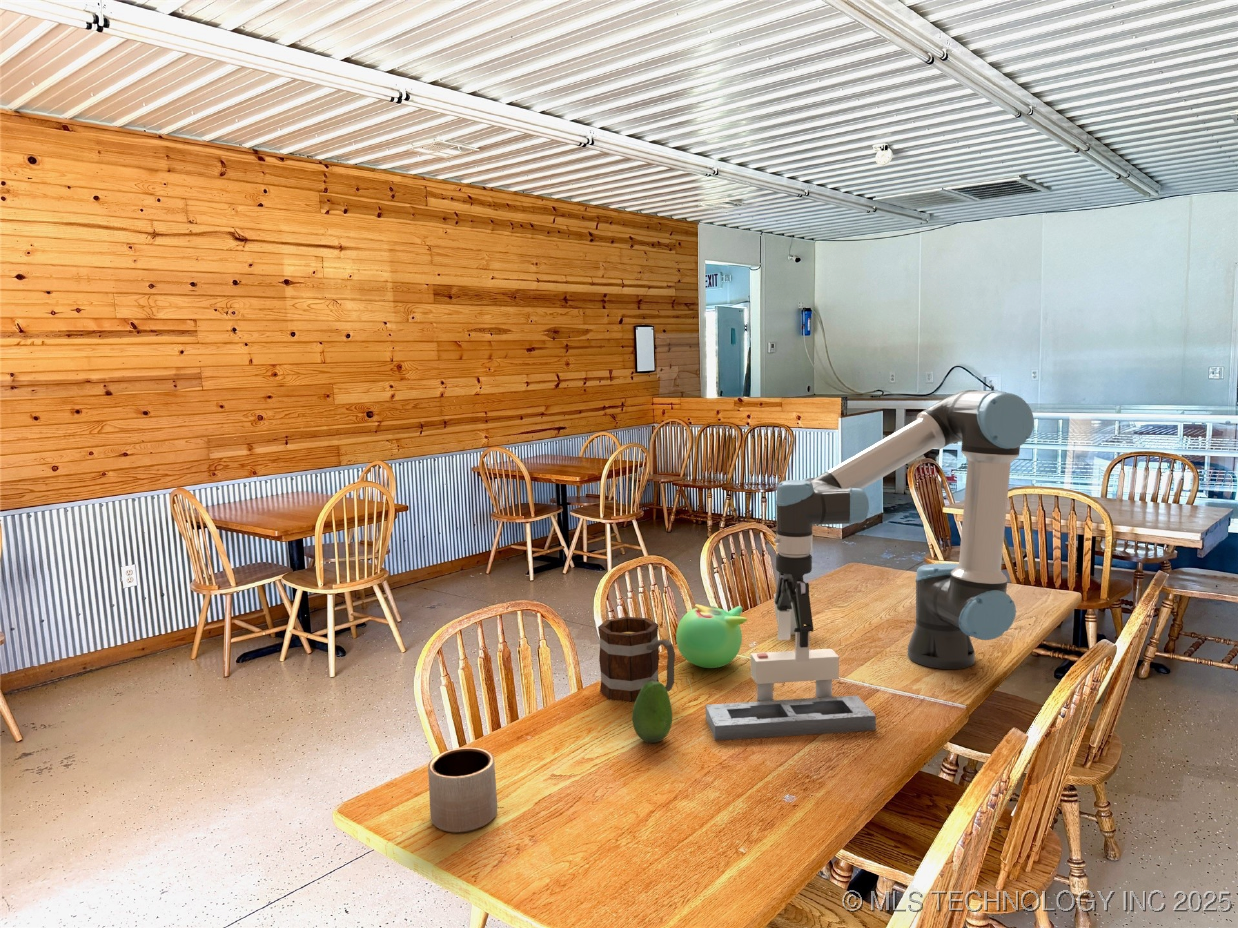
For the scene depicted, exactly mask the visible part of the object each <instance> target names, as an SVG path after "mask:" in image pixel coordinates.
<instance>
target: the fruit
mask: <svg viewBox="0 0 1238 928" xmlns="http://www.w3.org/2000/svg"><path fill="white" fill-rule="evenodd" d="M665 687H666V685H664V683H661V682H660V681H659V682H658V681H650V682H647V683H646V684H644V685H643V687H642V689H641V690H640V693H639V695H638V697H637V699H636V701H635V702H634V704H633V708H632V711H631V712H632V714H631V715H632V717H631V721H632V726H633V728H634V731H635V734H636V736H637V737H638V738H640V739H641V740H642V741H643V742H646V743H648V744H650V743H658V742H660V741H662V740H664V739H665V738H666V737H667V736H668V734H669V732H670V731H671V728H672V725H673V724H672V723H673V710H672V705H671V703H672V702H671V700H670V696H669V693H668V692H669V691H667V690H666V688H665Z"/></svg>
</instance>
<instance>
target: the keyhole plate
mask: <svg viewBox="0 0 1238 928" xmlns="http://www.w3.org/2000/svg"><path fill="white" fill-rule="evenodd" d="M876 719H877V717H876V714H875V713H874V712H873V711H872V710H871V709H870V707H868V705H867V704H866V703H865V702H864V701H863V700H862V699H861V698H860V697H859V695H858V694H857V695H841V696H832V697H823V698H819V697H810V698H794V699H779V700H778V699H777V700H772V701H759V700H758V701H747V702H746V701H745V702H729V703H728V702H727V703H714V704H713V703H712V704H705V720H706V723H707V725H708V728H709V730H710V733H711V734H712V737H713V738H714V741H716V742H717V741H718V742H719V741H730V740H731V741H732V740H745V739H746V740H747V739H759V738H774V737H775V738H776V737H791V736H793V737H794V736H808V735H810V736H811V735H822V734H823V735H824V734H835V733H836V734H837V733H839V734H840V733H853V732H854V733H855V732H867V731H868V732H869V731H876V730H877V727H876V725H877V724H876V723H877V722H876V721H877V720H876Z"/></svg>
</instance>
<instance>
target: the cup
mask: <svg viewBox="0 0 1238 928" xmlns="http://www.w3.org/2000/svg"><path fill="white" fill-rule="evenodd" d="M775 598H776V593H774V594H773V599H774V600H773V601H774V612H775V616H776V617H775V618H776V623H777V625H778V611H779V610H778V609H777V605H776V604H775ZM791 606H792V609H787V610H790V611H791V630H790V636H794V635H795V636H796V632H794V629H795V628H797V625H796V620H795V614H794V609H793V604H792V602H791Z"/></svg>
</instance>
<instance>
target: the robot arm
mask: <svg viewBox="0 0 1238 928" xmlns="http://www.w3.org/2000/svg"><path fill="white" fill-rule="evenodd" d="M915 418H916V419H915V420H914V421H912V422H910V423H909V424H907V425H905V426H903V427H902V428H900V429H898V430H896V431H895V432H893V433H892V434H889V435H887V436H886V437H885V438H882V439H881V440H879V441H877V442H875V443H874V444H872V445H871V446H868V447H867V448H866V449H864V450H862V451H860V452H859V453H856V454H855V455H853V456H852V457H850V458H847V459H846V460H844V461H843V462H841V463H839V464H838V465H836V466H835V467H833V468H830V469H829V470H827V471H825V472H824V473H822V474H820V475H818V476H816V477H815V478H814V477H807V478H806V477H805V478H803V479H802V478H801V480H800V479H798V480H797V479H787V480H782V481H781V482H779V483H778V484H777V487H776V488H777V489H776V497H775V506H776V510H775V512H776V516H775V517H776V532H775V533H776V538H774V539H773V543H775V545H776V547H775V548H776V551H777V553H776V554H775V570H776V571H777V572H778V573H779V574H778V581H777V587H776V593H775V594H776V598H775V603H774V605H775V604H776V605H777V609H778V610H779V611H778V624H777V640H778V641H788V640H791V635H790V630H791V611H790V610H787V609H792V606H791V602H792V604H793V609H794V614H795V620H796V625H797V628H795V629H794V632H796V634H795V636H794V637H795V641H794V642H795V645H794V646H795V648H794V649H795V650H794V651H795V661H796V662H803V661H809V650H810V632H813V631H814V622H813V616H812V607H811V599H810V598H811V597H810V583H809V582H805V581H804V576H805V575H808V574H810V573H811V572H812V571H813V570H812V569H813V556H812V554H811V553H812V552H813V539H814V538H813V536H814V535H813V526H823V525H826V526H827V525H853V524H860V523H862V522H864V521H866V519H867V518H868V516H869V511H870V503H869V497H868V495H867V493H866V492H865V491H864V490H863V489H865V488H867V487H868V486H870V485H872V484H874V483H876V482H877V481H879V480H881V479H882V478H884V477H886V476H888V475H890V474H891V473H892V472H894V471H896V470H898V469H900V468H901V467H903V466H905V465H907V464H909V463H910V462H912V461H913V460H916V459H917V458H920V456H922V455H924V454H926V453H927V452H929V451H931V450H933V449H938V450H941V449H943V448H945V447H946V446H949V445H951V444H955V443H958V442H961V447H960V448H961V450H960V452H961V453H962V455H964V457H965V458H966V460H967V467H966V468H967V469H966V477H965V478H966V480H965V491H964V501H963V502H964V503H963V511H962V512H963V514H962V524H961V525H962V526H961V536H960V547H959V560H958V563H929V564H923V565H921V566H919V567H918V568H917V570H916V576H915V591H916V592H915V626H914V629H913V632H912V634H911V637H910V639H909V641H908V645H907V657H908V659H909V660H910V661H911V662H914V663H915V664H918V665H920V666H924V667H927V668H934V669H941V670H961V669H966V668H969V667H971V666H973V665H975V661H976V660H975V659H976V657H975V656H976V652H975V649H974V644H973V642H972V639H971V637H972V638H975V639H977V640H981V641H991V640H995V639H998V638H999V637H1002V635H1003V634H1004V633H1005V632H1007V631H1009V629H1010V628H1011V627H1012V625H1013V624H1014V621H1015V618H1016V615H1017V608H1016V604H1015V601H1014V600H1013V599H1012V597H1011V596H1010V595H1009V594H1008V593H1007V591H1008V590H1007V588H1008V577H1007V576H1006V575H1005V574H1004V573H1003V572H1002V559H1003V550H1004V539H1005V527H1006V517H1007V506H1008V497H1009V496H1008V494H1009V486H1010V477H1011V475H1010V474H1011V463H1012V462H1013V461H1014V460H1016V459H1017V458H1018V457H1020V452H1021V451H1020V450H1021V446H1023V445H1024V444H1025V443H1027V440H1028V439H1030V437H1031V436H1032V433H1033V431H1034V423H1035V421H1034V420H1035V419H1034V414H1033V411H1032V409H1031V407H1030V405H1029V404H1028V403H1027V402H1026V400H1025V399H1024V398H1022V397H1021V396H1019V395H1017V394H1015V393H1011V392H1006V391H1001V390H995V391H994V390H993V391H992V390H974V389H973V390H972V389H968V390H963V391H958V392H956V393H954V394H951V395H949V396H948V397H945V398H943V399H942V400H939V401H938V402H936V403H934V404H933V405H931V406H929V407H927V408H925V409H924V410H923V411H921V412H919V413H918V414H917V415H916V417H915Z"/></svg>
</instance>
